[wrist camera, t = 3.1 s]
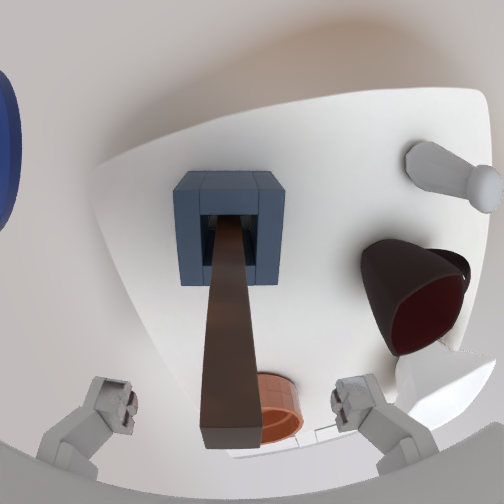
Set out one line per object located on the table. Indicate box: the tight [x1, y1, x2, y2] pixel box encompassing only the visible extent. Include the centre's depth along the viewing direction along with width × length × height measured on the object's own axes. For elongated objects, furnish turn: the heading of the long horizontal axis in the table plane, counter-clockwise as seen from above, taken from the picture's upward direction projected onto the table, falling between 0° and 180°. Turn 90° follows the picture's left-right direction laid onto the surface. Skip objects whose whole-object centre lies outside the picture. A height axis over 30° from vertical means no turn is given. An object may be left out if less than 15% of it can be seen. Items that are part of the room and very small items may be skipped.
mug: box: [361, 239, 471, 357], centre depth 28 cm, size 10×14×12 cm
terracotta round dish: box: [257, 374, 304, 445], centre depth 41 cm, size 14×14×7 cm
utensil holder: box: [173, 171, 285, 286], centre depth 26 cm, size 8×8×8 cm
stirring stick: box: [200, 215, 263, 449], centre depth 19 cm, size 2×2×24 cm
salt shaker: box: [405, 142, 504, 214], centre depth 22 cm, size 6×6×13 cm
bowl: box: [395, 341, 496, 431], centre depth 38 cm, size 19×19×14 cm
